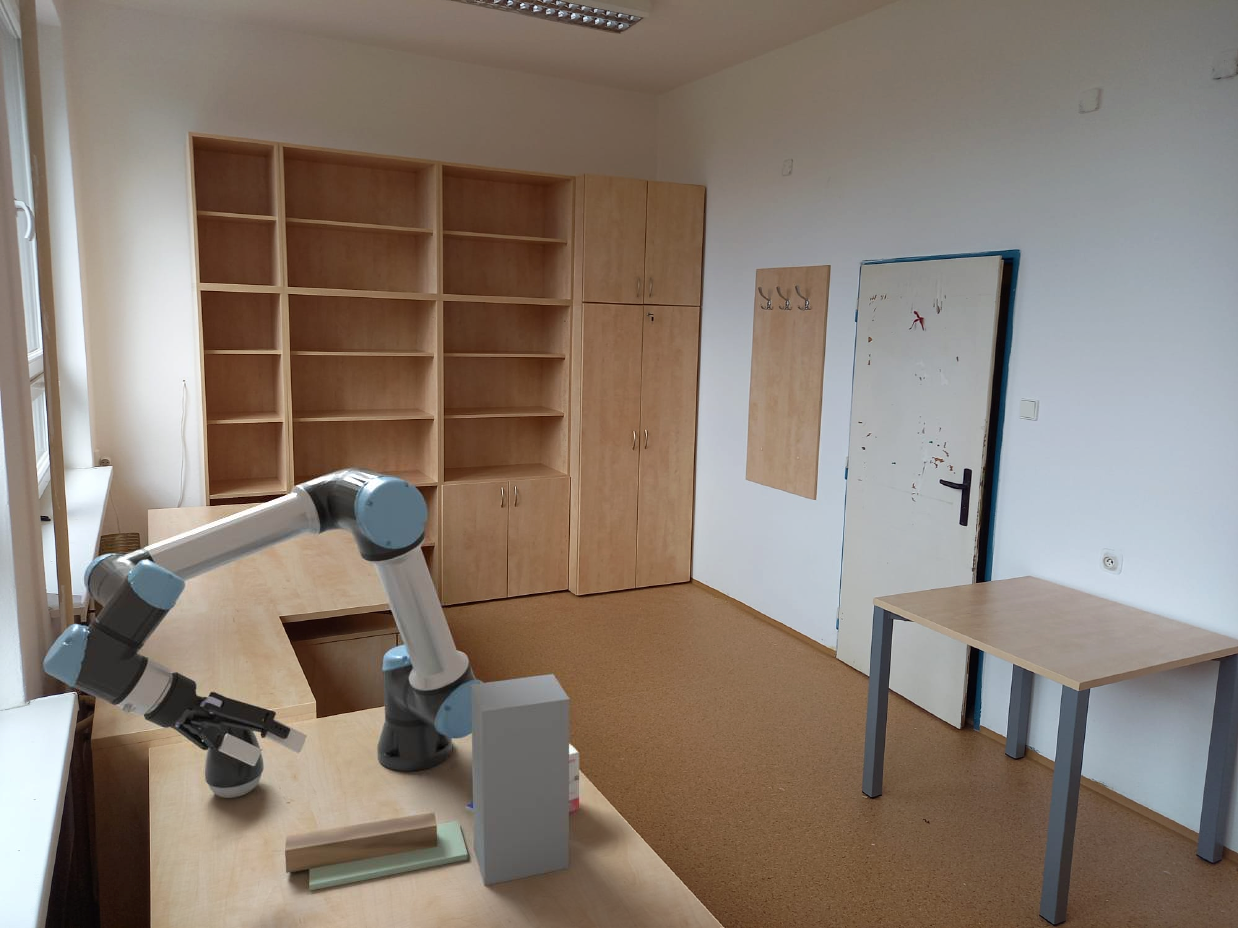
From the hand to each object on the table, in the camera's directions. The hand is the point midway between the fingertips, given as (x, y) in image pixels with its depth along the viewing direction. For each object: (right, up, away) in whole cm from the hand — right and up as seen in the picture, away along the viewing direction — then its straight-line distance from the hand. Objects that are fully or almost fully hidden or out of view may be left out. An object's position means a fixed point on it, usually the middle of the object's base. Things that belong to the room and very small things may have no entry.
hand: (279, 751), depth 137 cm
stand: (+38, -20, +7) cm, 44 cm away
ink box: (+42, -18, +21) cm, 51 cm away
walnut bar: (+12, -19, +6) cm, 23 cm away
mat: (+16, -20, +7) cm, 26 cm away
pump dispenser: (-19, -16, +26) cm, 36 cm away
